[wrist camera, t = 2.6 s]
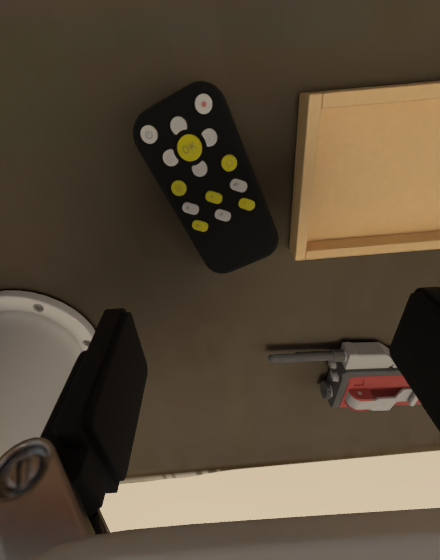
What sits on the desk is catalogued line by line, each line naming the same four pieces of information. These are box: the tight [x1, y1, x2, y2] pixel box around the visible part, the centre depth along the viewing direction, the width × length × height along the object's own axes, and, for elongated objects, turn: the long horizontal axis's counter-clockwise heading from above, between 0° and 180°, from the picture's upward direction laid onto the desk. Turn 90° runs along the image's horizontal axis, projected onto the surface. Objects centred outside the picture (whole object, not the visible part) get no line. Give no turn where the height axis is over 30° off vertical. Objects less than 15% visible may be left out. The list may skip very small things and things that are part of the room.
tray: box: [289, 81, 440, 261], centre depth 21 cm, size 17×11×2 cm, turn 94°
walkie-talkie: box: [268, 342, 421, 411], centre depth 32 cm, size 9×4×20 cm
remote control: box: [133, 81, 278, 273], centre depth 21 cm, size 6×13×2 cm, turn 25°
